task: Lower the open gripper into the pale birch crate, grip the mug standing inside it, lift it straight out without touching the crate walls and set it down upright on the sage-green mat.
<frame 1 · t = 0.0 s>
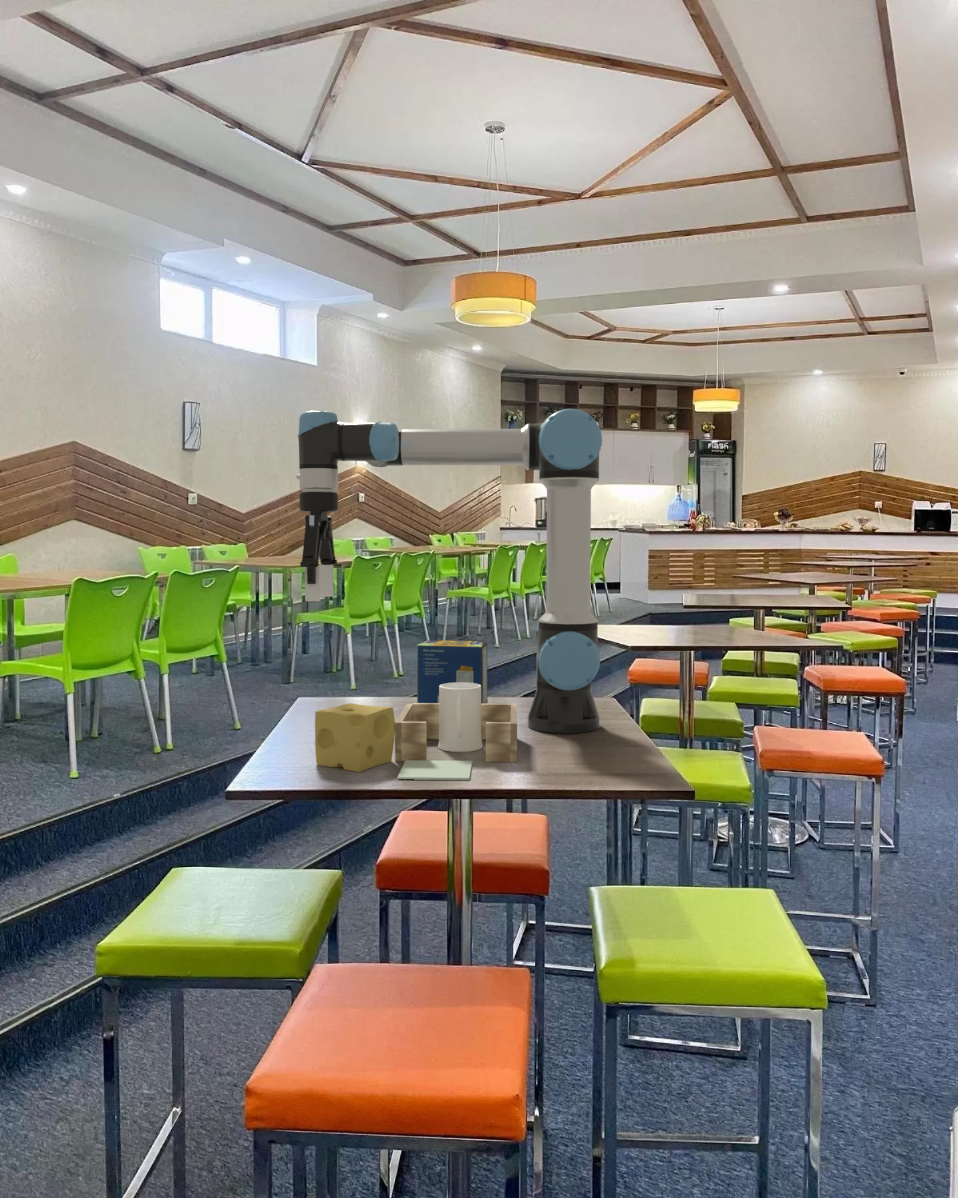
hand: (319, 599, 190), 28 cm above the table, fingers open, 13 cm apart
mug: (459, 750, 182), resting in crate
mat: (436, 771, 165), on the table
cheese: (354, 764, 171), on the table
protein box: (452, 709, 225), on the table
crate: (459, 749, 182), on the table
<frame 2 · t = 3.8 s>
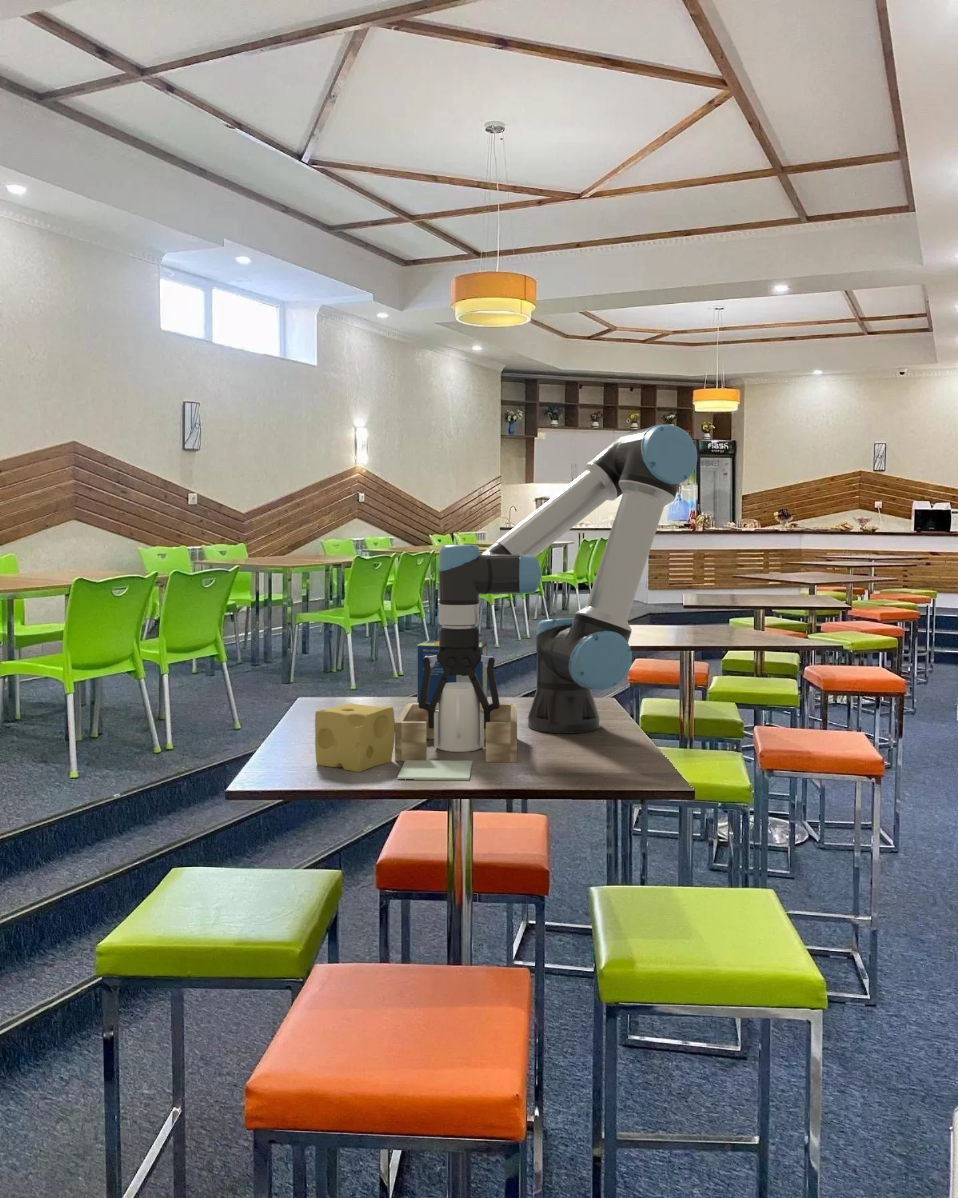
hand: (459, 745, 182), 1 cm above the table, fingers closed on mug, 8 cm apart
mug: (458, 750, 182), resting in crate, touching gripper
everything else where it was.
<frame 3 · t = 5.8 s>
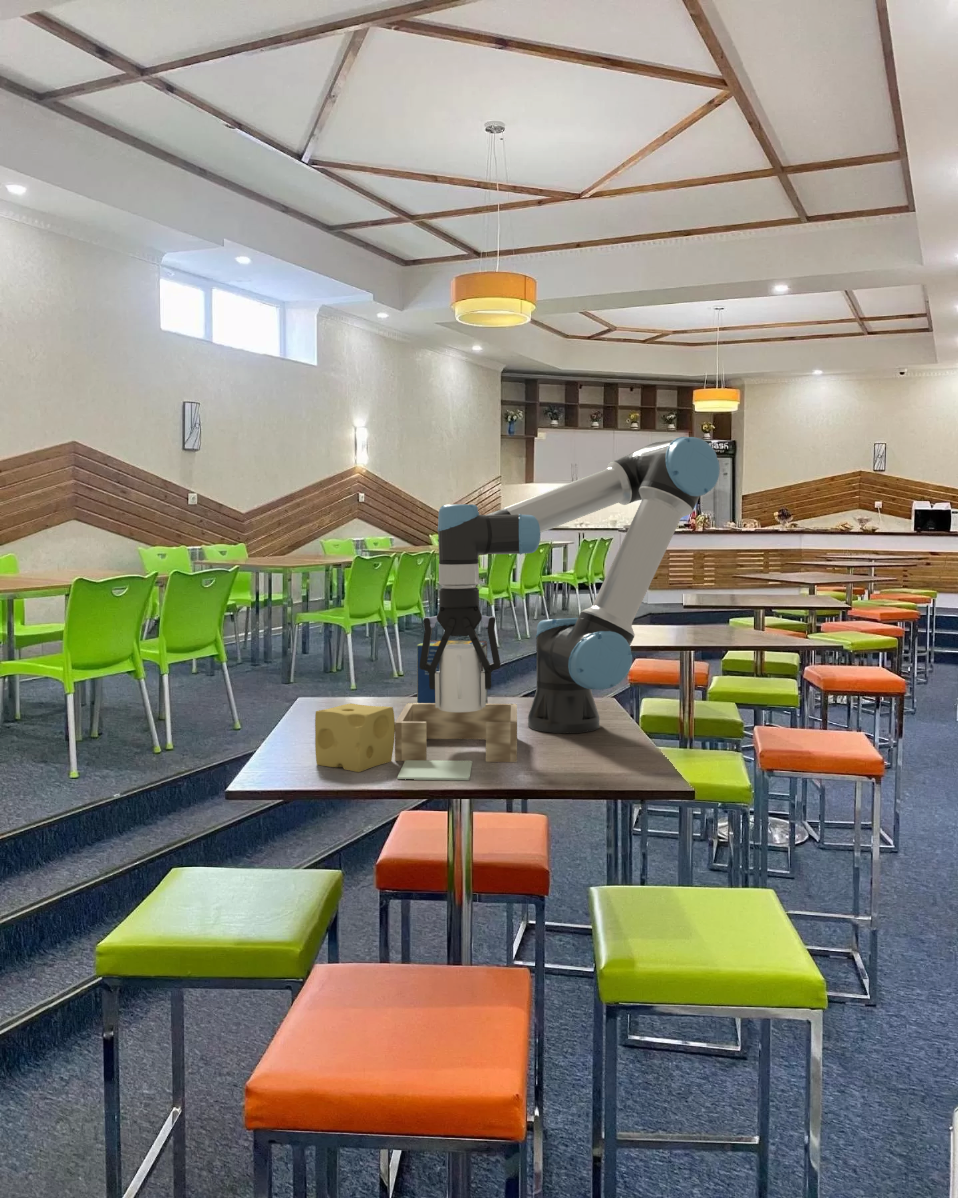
hand: (460, 706, 181), 8 cm above the table, fingers closed on mug, 8 cm apart
mug: (459, 711, 181), point 7 cm above the table, touching gripper
everything else where it was.
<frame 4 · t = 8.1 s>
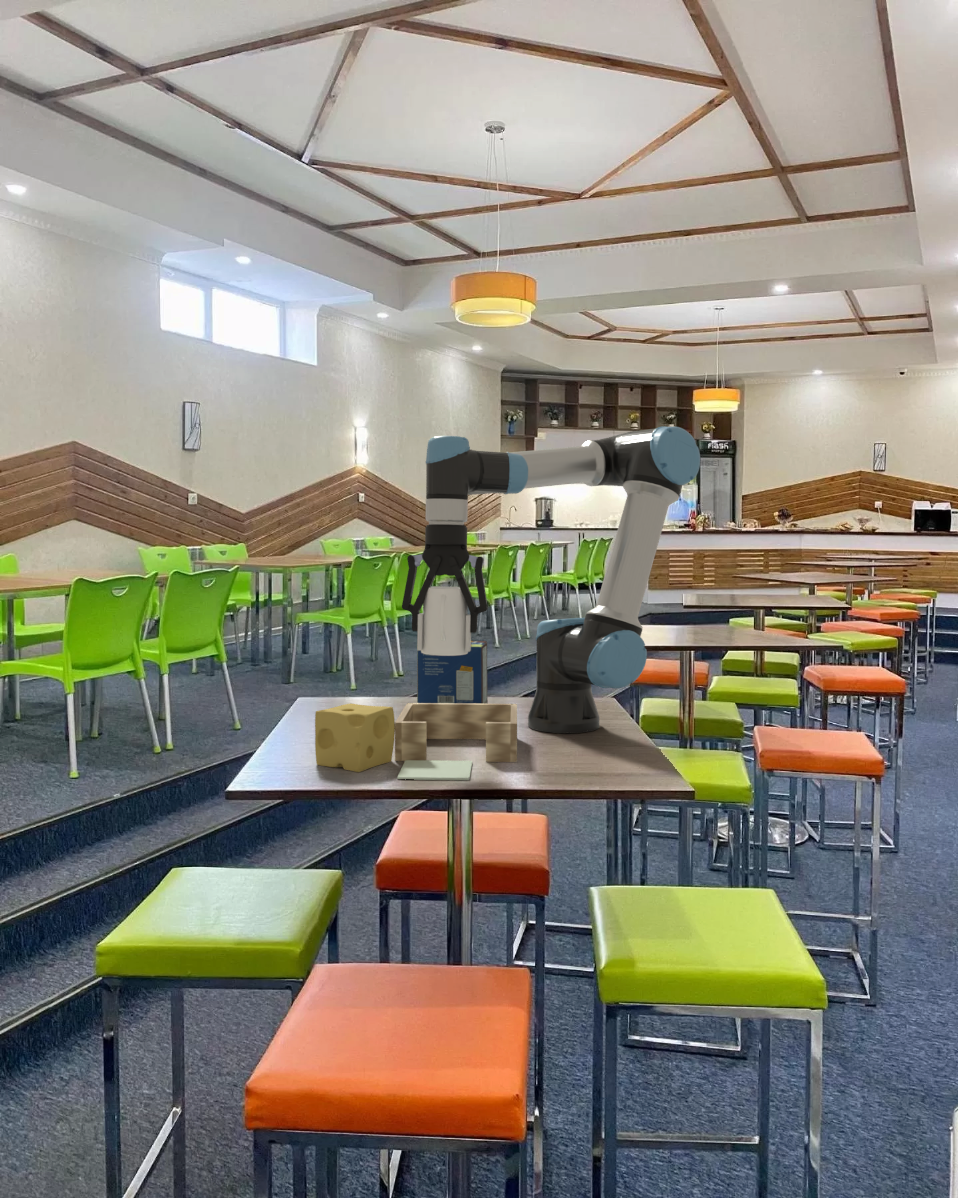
hand: (444, 650, 172), 20 cm above the table, fingers closed on mug, 8 cm apart
mug: (442, 655, 172), point 19 cm above the table, touching gripper
everything else where it was.
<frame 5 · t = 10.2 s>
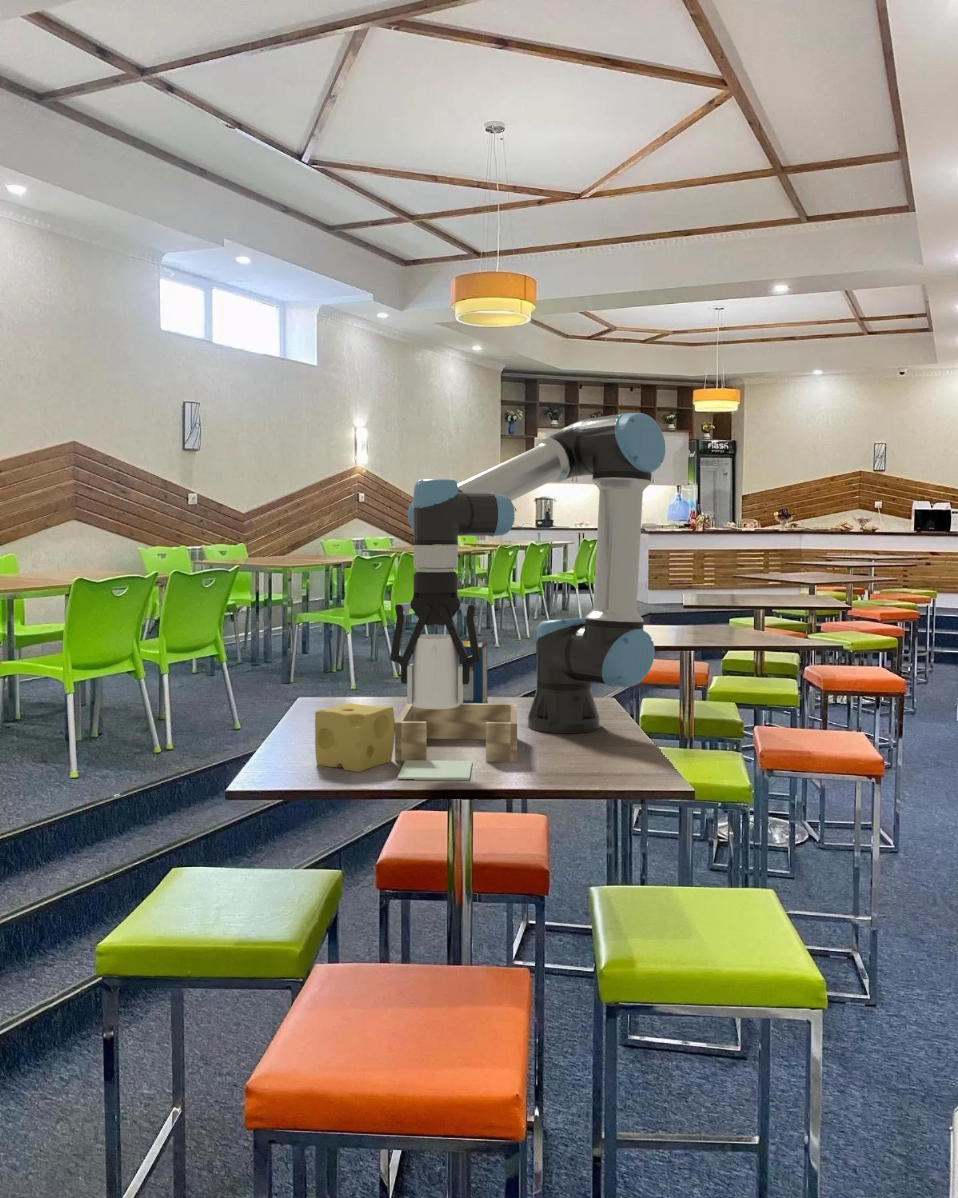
hand: (435, 702, 164), 12 cm above the table, fingers closed on mug, 8 cm apart
mug: (434, 707, 164), point 11 cm above the table, touching gripper
everything else where it was.
when the fingers open (3 cm above the table, at t = 12.3 s): mug drops 2 cm, resting on mat.
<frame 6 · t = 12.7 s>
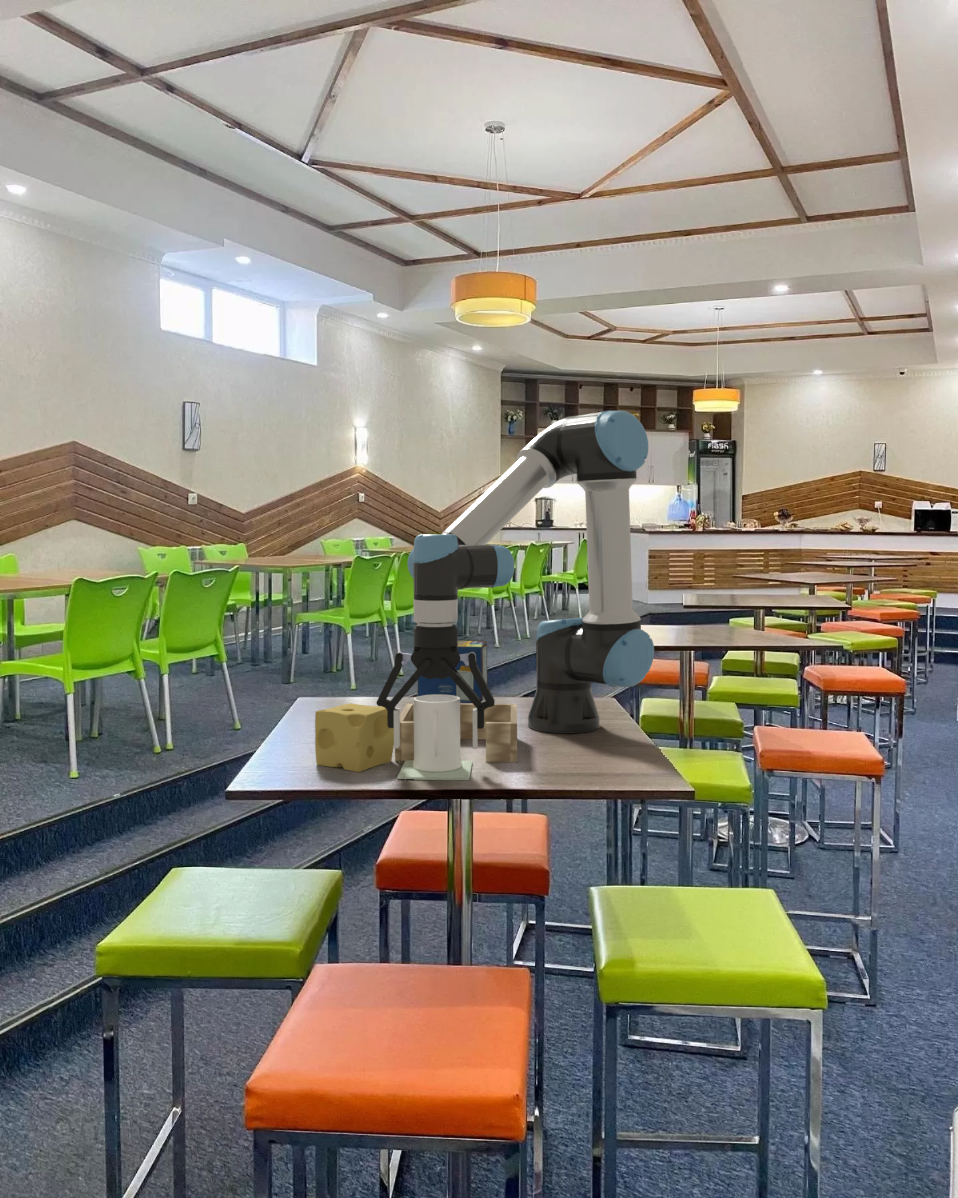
hand: (436, 747, 165), 4 cm above the table, fingers open, 13 cm apart
mug: (436, 769, 165), resting on mat
everything else where it was.
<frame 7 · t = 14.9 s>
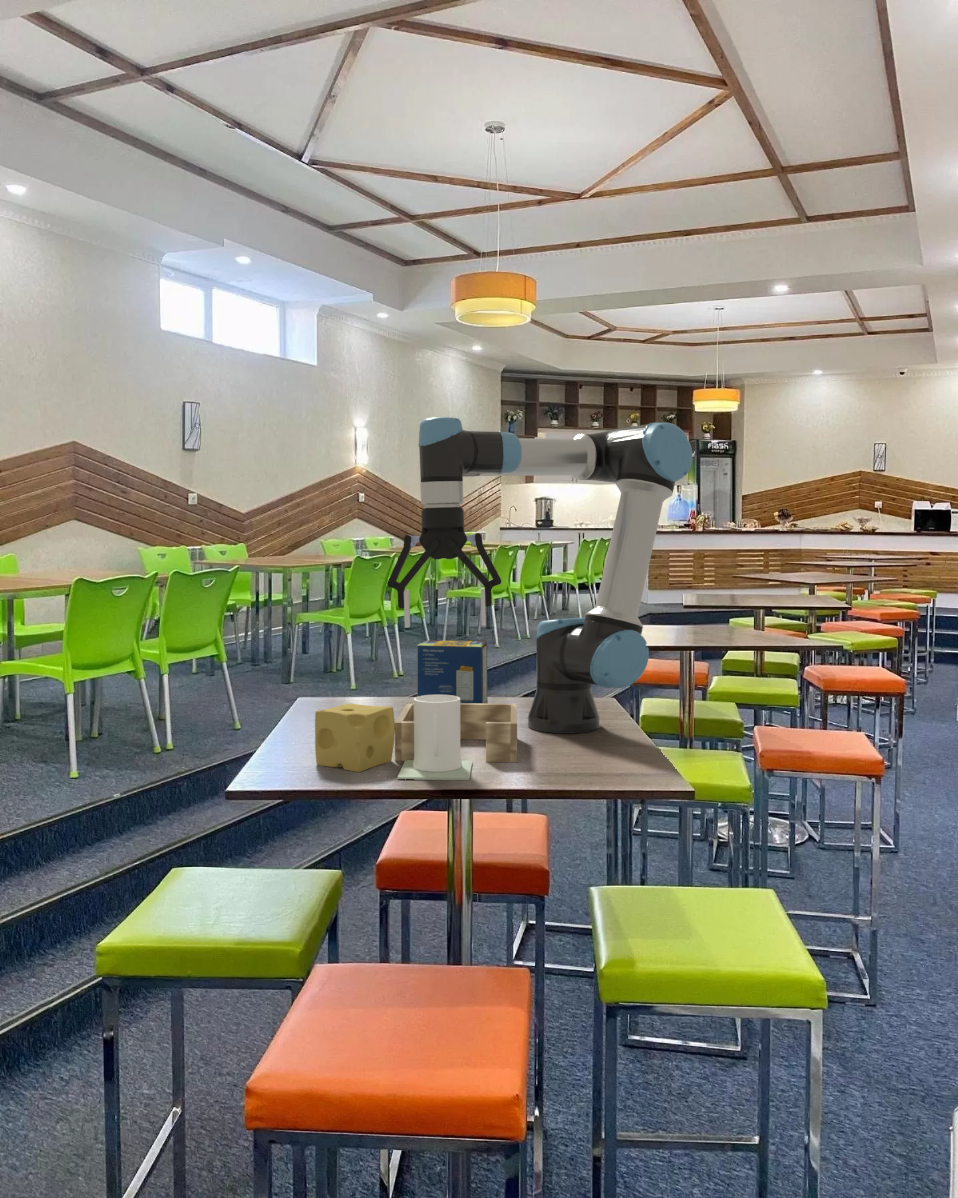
hand: (445, 626, 170), 24 cm above the table, fingers open, 13 cm apart
nothing on the table moved.
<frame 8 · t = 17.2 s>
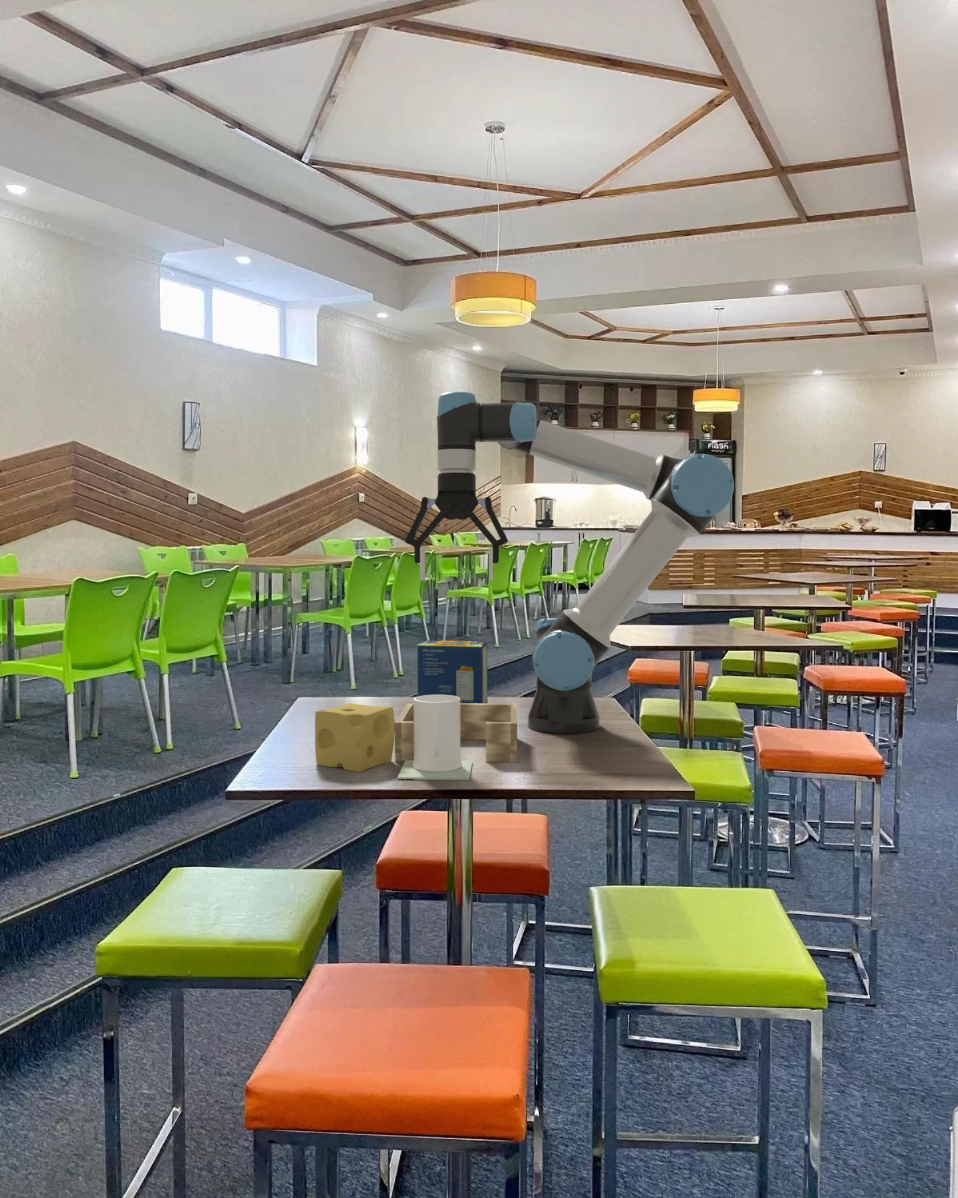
hand: (456, 580, 190), 32 cm above the table, fingers open, 13 cm apart
nothing on the table moved.
at the end: mug inside the target area on the mat (0.1 cm from its centre), point 0.2 cm above the mat's base; mug tilted 0°; the gripper is holding nothing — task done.
